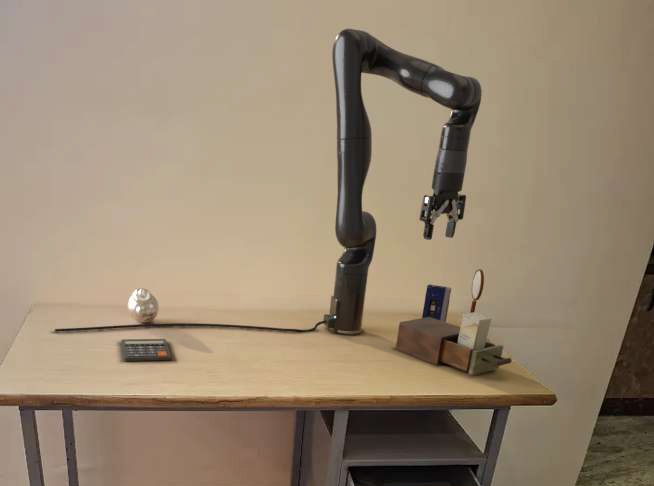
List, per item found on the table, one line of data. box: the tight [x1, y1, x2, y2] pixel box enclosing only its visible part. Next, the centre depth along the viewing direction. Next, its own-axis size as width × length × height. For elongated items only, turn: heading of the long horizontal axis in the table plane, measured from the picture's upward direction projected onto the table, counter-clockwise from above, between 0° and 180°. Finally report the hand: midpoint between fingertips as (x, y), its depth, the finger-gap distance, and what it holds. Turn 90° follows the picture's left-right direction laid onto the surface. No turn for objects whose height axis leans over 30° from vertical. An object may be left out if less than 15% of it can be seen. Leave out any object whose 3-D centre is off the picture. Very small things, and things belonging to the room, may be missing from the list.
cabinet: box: [395, 317, 461, 366], centre depth 193 cm, size 15×12×8 cm
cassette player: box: [421, 284, 452, 323], centre depth 218 cm, size 7×2×12 cm, turn 67°
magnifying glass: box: [469, 268, 485, 313], centre depth 206 cm, size 9×2×20 cm, turn 0°
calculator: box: [120, 338, 172, 362], centre depth 182 cm, size 12×1×15 cm
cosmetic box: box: [457, 311, 492, 364], centre depth 182 cm, size 6×4×12 cm
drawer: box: [439, 336, 512, 376], centre depth 184 cm, size 19×11×6 cm, turn 38°
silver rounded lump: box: [127, 287, 160, 324], centre depth 201 cm, size 9×10×10 cm
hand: (438, 238), depth 182 cm, fingers open, 8 cm apart
